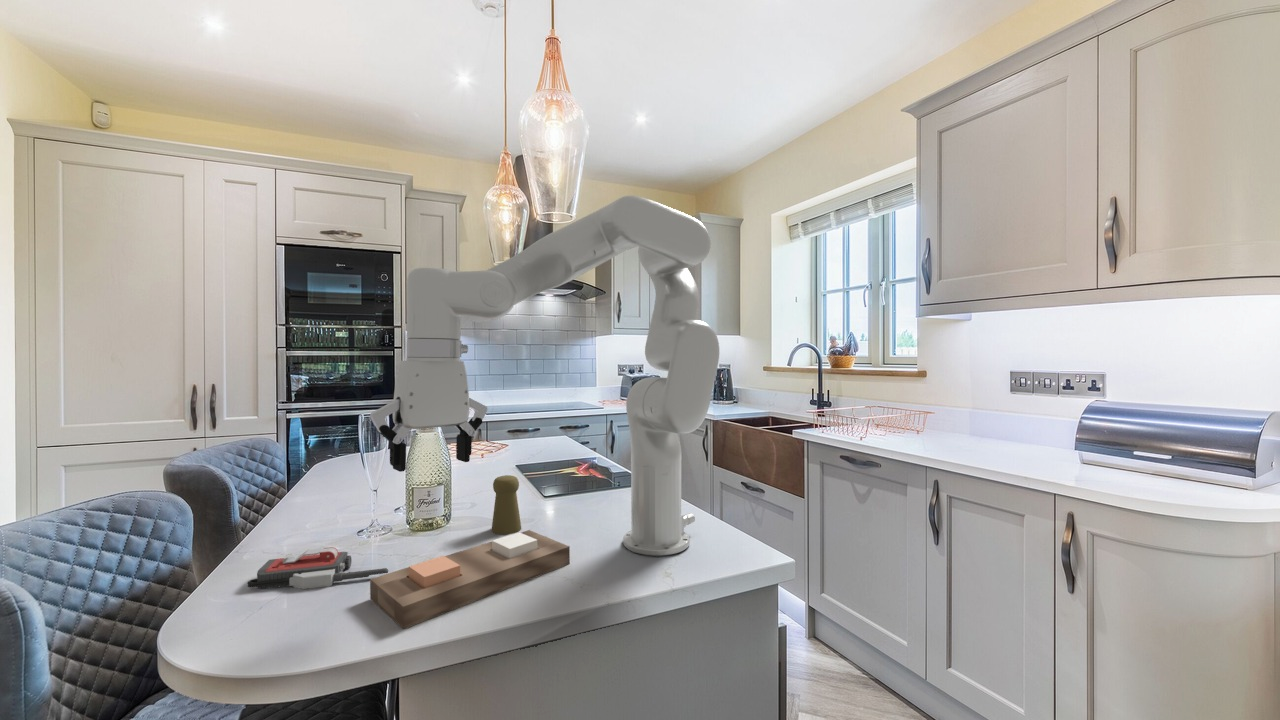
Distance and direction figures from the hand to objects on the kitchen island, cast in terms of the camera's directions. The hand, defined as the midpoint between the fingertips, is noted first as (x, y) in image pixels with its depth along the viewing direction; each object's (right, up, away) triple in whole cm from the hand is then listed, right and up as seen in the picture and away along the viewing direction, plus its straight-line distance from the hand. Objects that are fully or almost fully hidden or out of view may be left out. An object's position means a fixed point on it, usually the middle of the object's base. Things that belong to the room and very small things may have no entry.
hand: (432, 465), depth 76 cm
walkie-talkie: (-20, -20, +7) cm, 30 cm away
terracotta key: (0, -18, 0) cm, 18 cm away
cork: (+4, -19, +28) cm, 34 cm away
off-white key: (+10, -17, +10) cm, 22 cm away
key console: (+5, -20, +5) cm, 21 cm away
